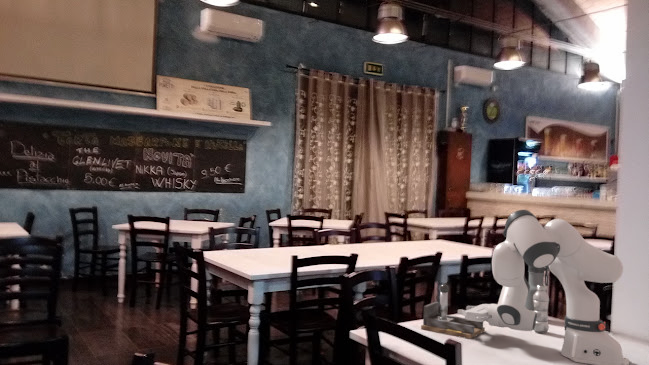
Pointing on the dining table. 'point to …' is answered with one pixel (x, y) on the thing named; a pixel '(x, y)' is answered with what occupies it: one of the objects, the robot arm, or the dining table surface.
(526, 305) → the water bottle
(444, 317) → the press sled
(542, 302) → the plastic bottle
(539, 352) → the dining table surface
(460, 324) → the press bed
